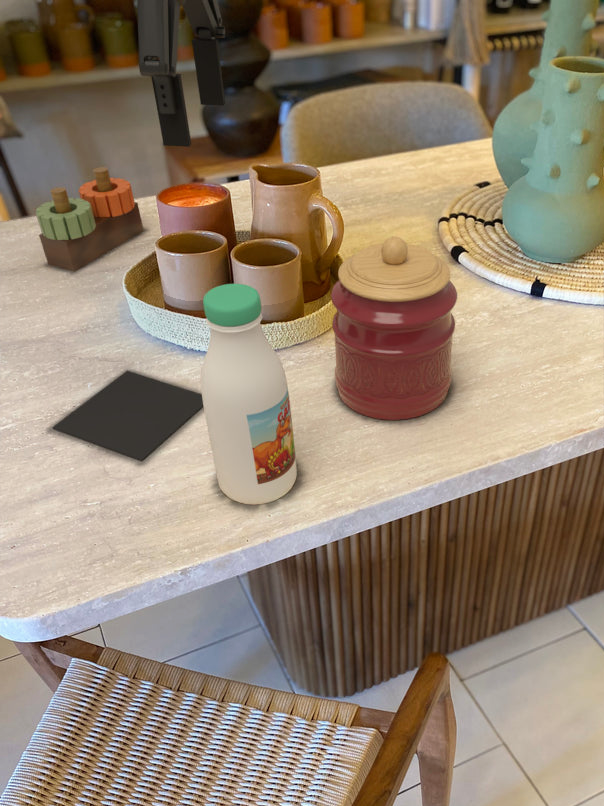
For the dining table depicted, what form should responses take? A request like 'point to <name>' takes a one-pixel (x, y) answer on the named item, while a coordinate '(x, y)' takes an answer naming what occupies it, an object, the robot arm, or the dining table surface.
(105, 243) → the peg rack
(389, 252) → the kitchen canister
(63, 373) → the dining table surface
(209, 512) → the dining table surface
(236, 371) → the milk bottle
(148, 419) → the mat
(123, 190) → the orange gear
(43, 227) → the green disc
